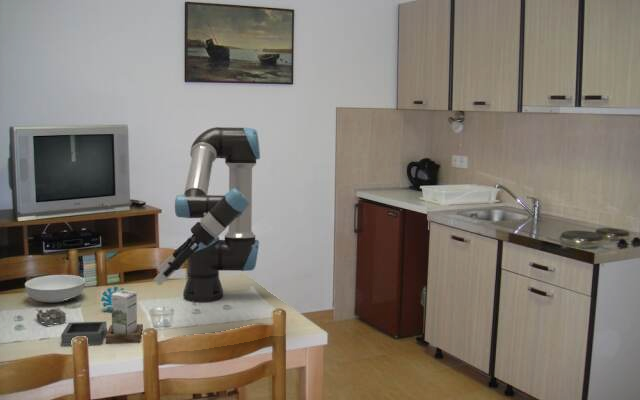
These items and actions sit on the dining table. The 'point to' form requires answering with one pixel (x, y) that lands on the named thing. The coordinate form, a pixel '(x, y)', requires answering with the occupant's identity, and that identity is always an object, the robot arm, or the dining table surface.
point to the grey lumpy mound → (51, 316)
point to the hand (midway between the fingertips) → (158, 277)
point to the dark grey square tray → (85, 332)
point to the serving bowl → (54, 287)
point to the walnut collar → (124, 336)
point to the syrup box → (124, 312)
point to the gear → (108, 297)
